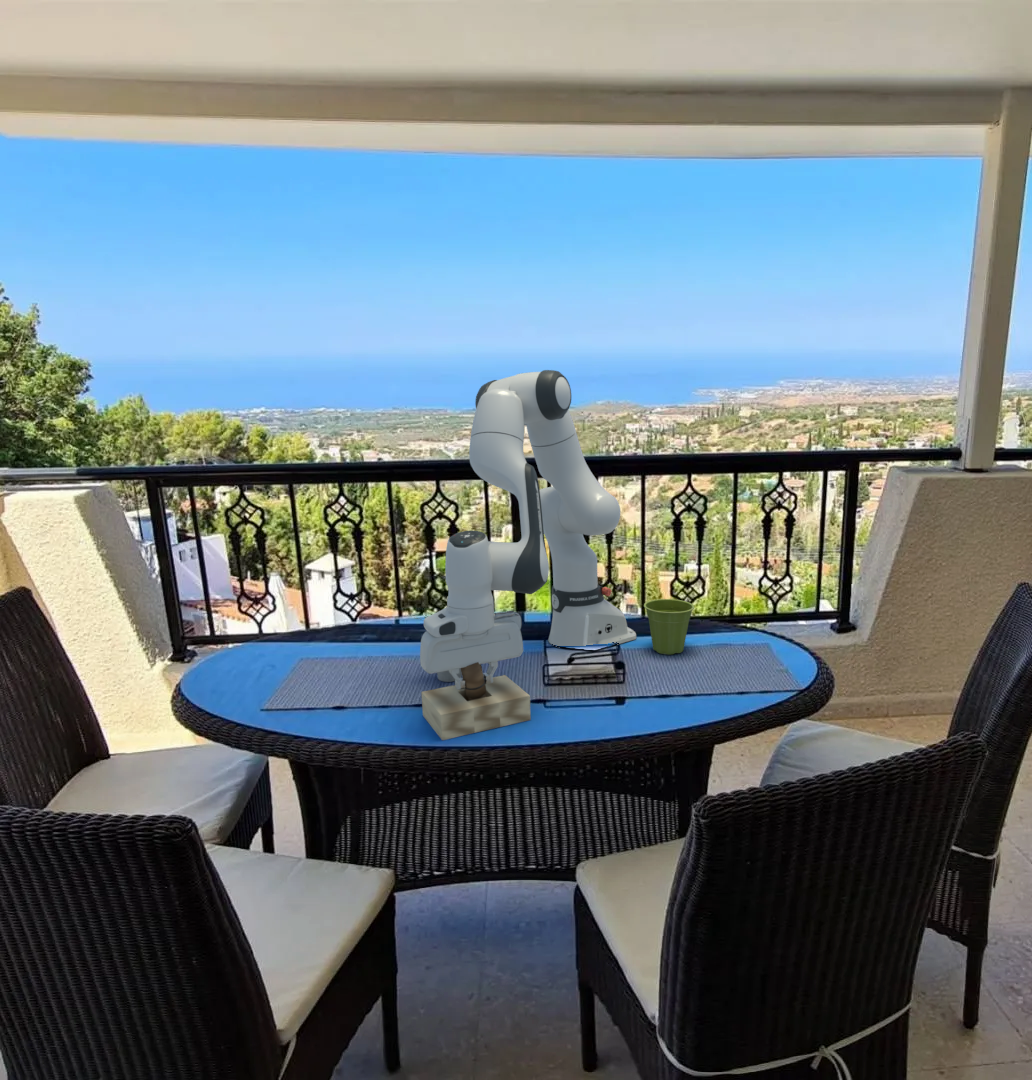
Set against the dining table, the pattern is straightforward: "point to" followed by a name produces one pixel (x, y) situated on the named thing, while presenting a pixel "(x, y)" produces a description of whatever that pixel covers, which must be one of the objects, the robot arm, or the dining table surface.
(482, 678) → the peg
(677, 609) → the plant pot
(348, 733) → the dining table surface
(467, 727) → the seat block
